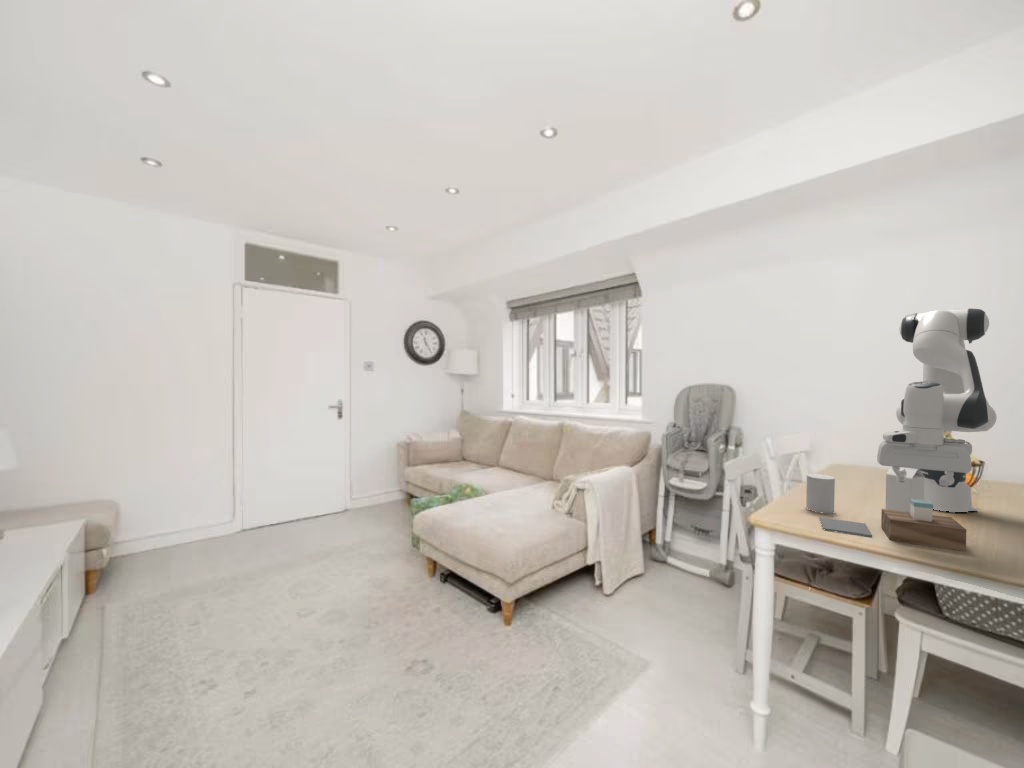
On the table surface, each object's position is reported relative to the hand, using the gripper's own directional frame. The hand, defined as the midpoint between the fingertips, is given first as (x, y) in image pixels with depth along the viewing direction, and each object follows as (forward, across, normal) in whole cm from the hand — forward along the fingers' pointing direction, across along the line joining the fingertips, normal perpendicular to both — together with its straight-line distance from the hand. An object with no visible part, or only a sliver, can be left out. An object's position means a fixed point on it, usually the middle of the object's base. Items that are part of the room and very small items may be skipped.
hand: (921, 484), depth 129 cm
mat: (+16, +18, -1) cm, 24 cm away
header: (+16, 0, 0) cm, 16 cm away
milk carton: (+16, 0, -20) cm, 25 cm away
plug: (+16, 0, 0) cm, 16 cm away
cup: (+16, +23, -19) cm, 34 cm away
